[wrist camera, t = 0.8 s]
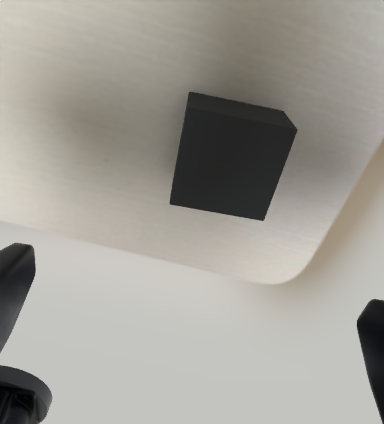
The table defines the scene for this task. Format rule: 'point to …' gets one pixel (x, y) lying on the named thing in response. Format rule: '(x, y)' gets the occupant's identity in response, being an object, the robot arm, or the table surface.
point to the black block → (230, 156)
